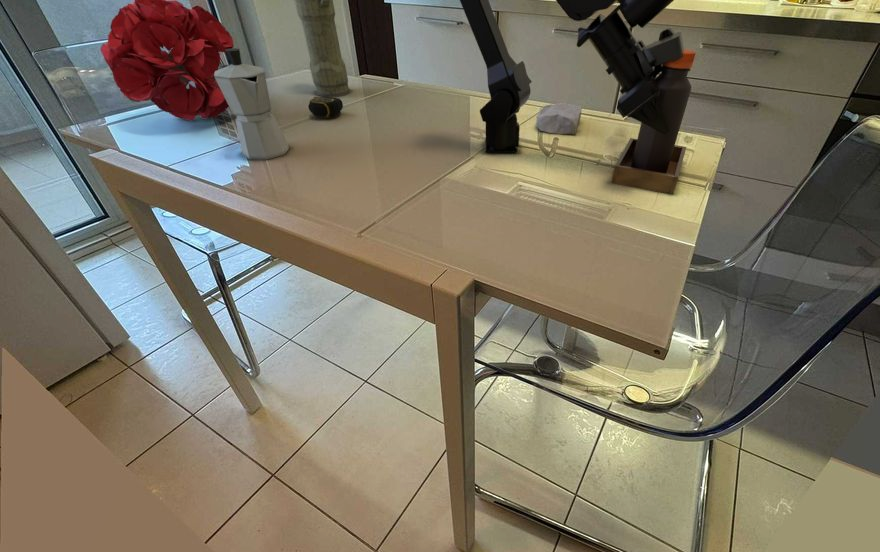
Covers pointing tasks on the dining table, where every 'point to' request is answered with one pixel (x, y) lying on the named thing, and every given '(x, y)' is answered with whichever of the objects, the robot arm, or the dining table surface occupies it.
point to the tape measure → (325, 106)
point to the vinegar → (673, 99)
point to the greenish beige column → (323, 47)
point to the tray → (644, 177)
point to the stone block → (559, 118)
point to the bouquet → (168, 57)
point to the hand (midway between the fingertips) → (669, 125)
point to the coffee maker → (251, 108)
